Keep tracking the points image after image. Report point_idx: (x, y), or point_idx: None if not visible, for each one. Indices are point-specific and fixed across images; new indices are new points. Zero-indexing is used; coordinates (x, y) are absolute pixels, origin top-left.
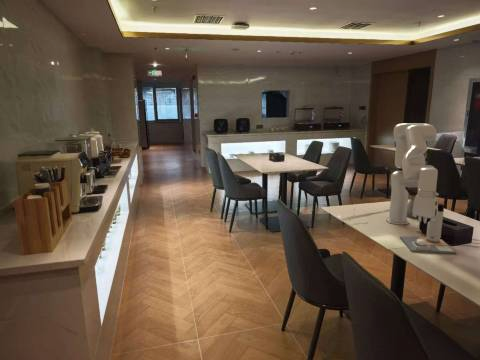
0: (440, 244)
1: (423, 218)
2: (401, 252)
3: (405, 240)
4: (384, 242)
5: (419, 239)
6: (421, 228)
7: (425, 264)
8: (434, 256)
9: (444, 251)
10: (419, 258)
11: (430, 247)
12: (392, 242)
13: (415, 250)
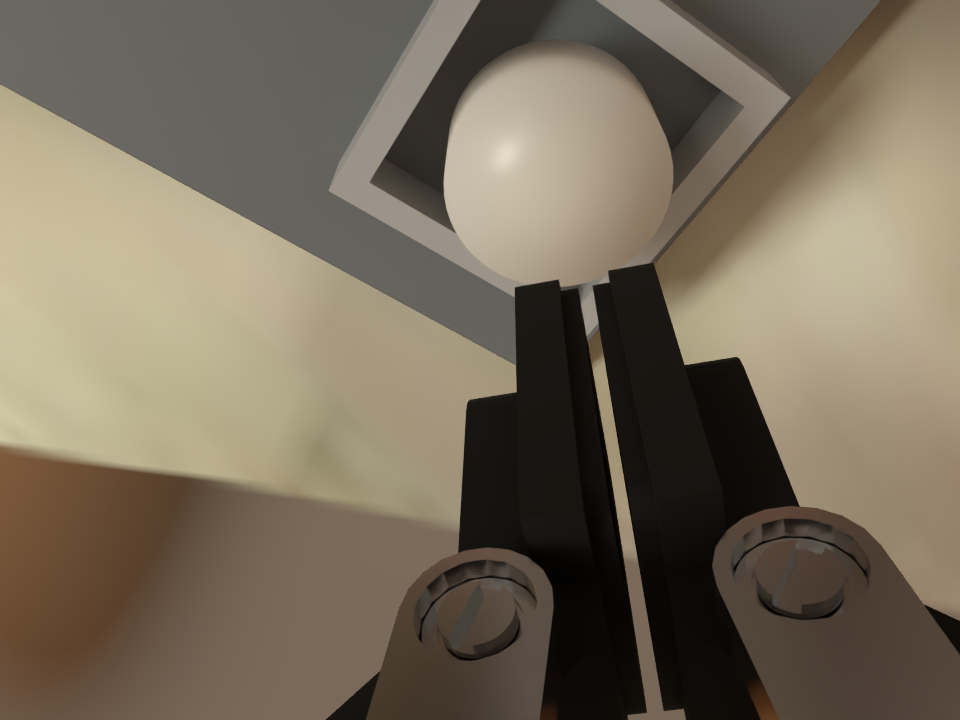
0: None
1: (542, 717)
2: None
3: (93, 87)
4: (28, 424)
5: (484, 170)
6: (615, 508)
7: (945, 531)
8: (922, 176)
9: None
10: (784, 451)
11: (787, 97)
12: (57, 310)
13: (593, 332)
